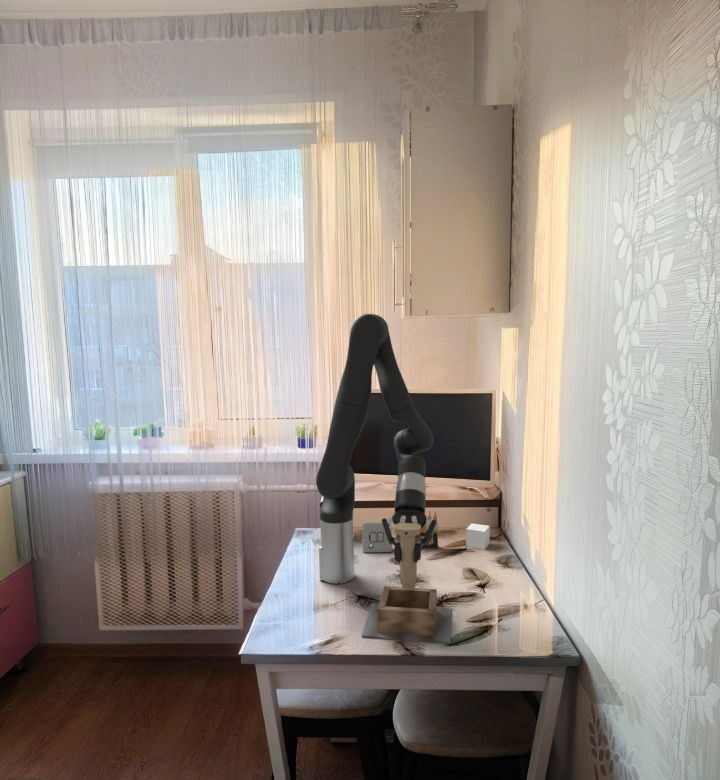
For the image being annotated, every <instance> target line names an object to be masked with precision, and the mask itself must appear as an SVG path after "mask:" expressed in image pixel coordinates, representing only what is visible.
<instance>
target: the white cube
mask: <svg viewBox="0 0 720 780" xmlns="http://www.w3.org/2000/svg"><path fill="white" fill-rule="evenodd" d="M490 528H491V527H490V525H485V524H478V523H470V524H469V525H468V526H467V528H465V537H466V538H465V539H466V541H465V547H466V548H472V549H478V550H483V549H484V550H486V549H487V547H488V546H489V544H490V537H491V536H490V535H491V533H490ZM484 550H483V551H484Z"/></svg>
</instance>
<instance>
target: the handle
mask: <svg viewBox="0 0 720 780" xmlns="http://www.w3.org/2000/svg"><path fill="white" fill-rule="evenodd" d="M393 532H394V533H395V534H398V535H399V536H400V539H401V547H400V562H399V573H400V579H401V587H402V588H404V589H407V590H410V589H414V588H416V583H417V582H416V581H417V572H418V571H417V570H418V566H417V565H418V564H417V562H415V561H414V553H415V536H416V535H418V534H420V533H421V525H419V524H414V523H398V524H394V525H393Z"/></svg>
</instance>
